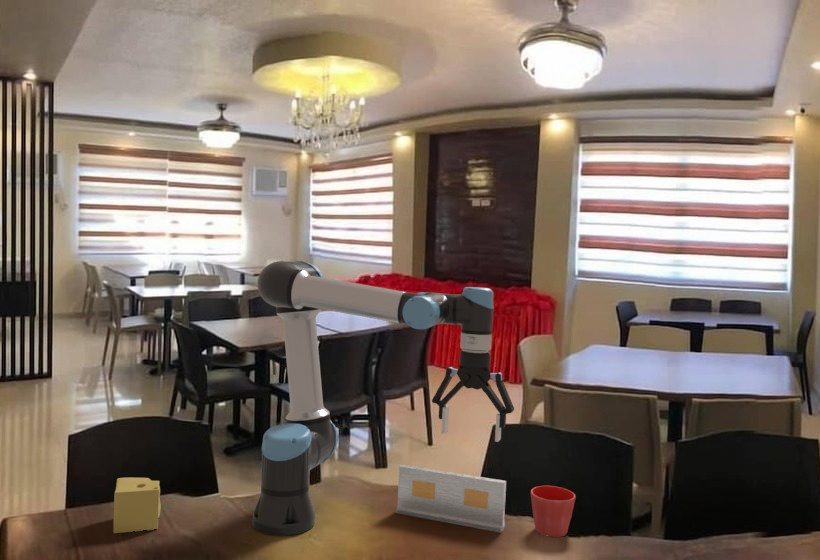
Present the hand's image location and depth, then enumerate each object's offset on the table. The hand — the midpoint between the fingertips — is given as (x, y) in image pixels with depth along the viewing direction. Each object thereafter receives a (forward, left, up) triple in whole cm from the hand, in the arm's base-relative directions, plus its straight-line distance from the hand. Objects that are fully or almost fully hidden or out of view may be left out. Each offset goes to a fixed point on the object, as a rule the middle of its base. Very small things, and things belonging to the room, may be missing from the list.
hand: (470, 436), depth 166 cm
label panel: (-6, +4, -23) cm, 24 cm away
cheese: (-73, -33, -24) cm, 83 cm away
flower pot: (+19, +9, -24) cm, 32 cm away
